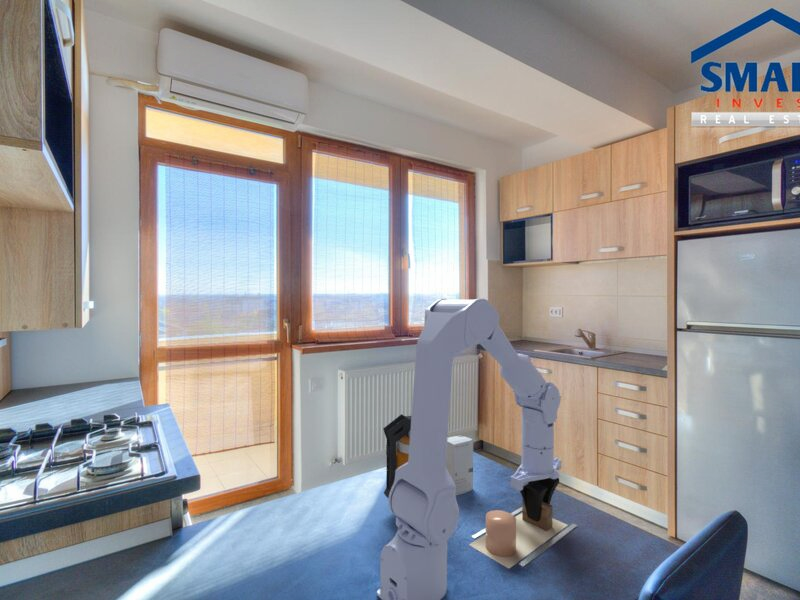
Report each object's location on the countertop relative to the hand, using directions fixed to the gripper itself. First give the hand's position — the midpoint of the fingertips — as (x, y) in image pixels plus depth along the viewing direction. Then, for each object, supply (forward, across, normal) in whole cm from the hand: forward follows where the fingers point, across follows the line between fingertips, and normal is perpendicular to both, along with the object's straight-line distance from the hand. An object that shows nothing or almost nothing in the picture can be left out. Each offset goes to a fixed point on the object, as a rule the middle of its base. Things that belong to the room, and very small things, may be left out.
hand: (537, 516), depth 75 cm
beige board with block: (+2, -6, 0) cm, 6 cm away
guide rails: (+2, -4, 0) cm, 5 cm away
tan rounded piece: (+1, -12, 0) cm, 12 cm away
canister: (+3, -15, +19) cm, 24 cm away
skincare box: (+3, -1, +19) cm, 19 cm away
